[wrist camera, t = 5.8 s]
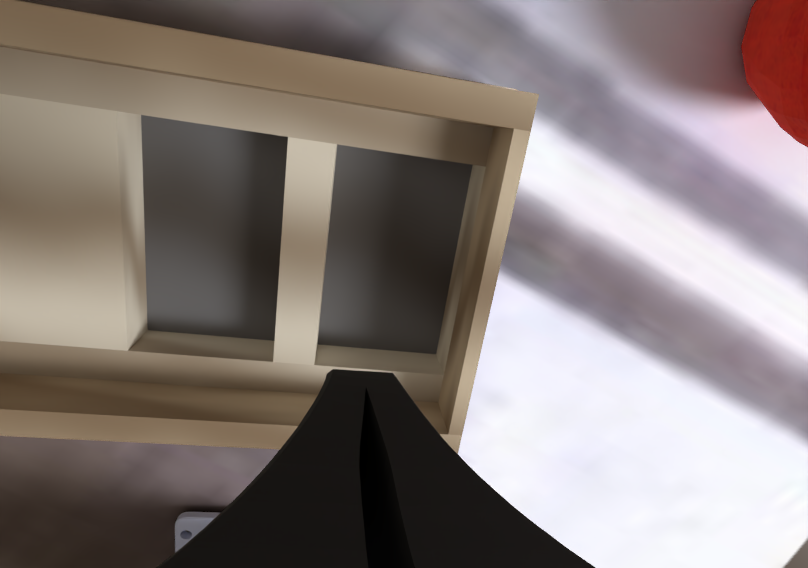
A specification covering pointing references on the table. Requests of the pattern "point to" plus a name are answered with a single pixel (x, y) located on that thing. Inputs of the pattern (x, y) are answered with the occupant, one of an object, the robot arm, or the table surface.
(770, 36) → the apple
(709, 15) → the table surface
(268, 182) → the box
